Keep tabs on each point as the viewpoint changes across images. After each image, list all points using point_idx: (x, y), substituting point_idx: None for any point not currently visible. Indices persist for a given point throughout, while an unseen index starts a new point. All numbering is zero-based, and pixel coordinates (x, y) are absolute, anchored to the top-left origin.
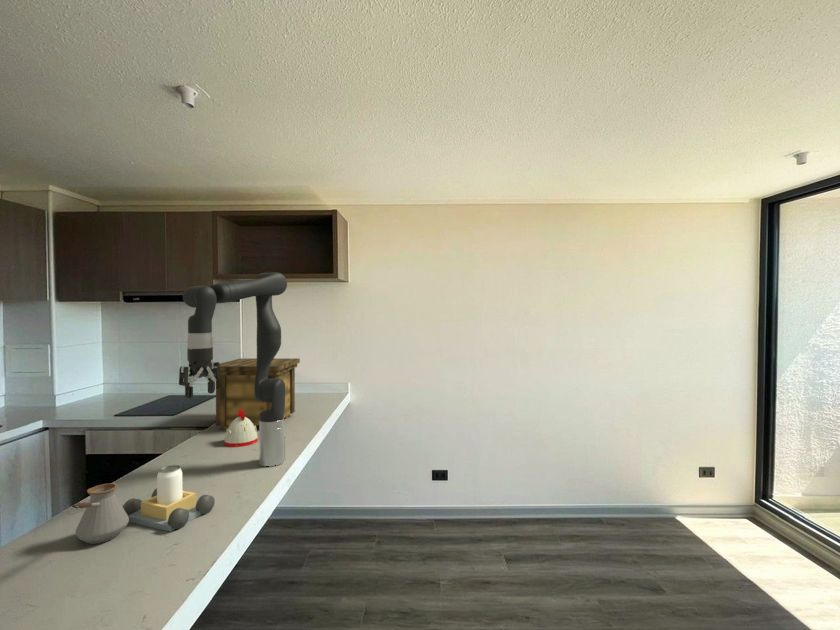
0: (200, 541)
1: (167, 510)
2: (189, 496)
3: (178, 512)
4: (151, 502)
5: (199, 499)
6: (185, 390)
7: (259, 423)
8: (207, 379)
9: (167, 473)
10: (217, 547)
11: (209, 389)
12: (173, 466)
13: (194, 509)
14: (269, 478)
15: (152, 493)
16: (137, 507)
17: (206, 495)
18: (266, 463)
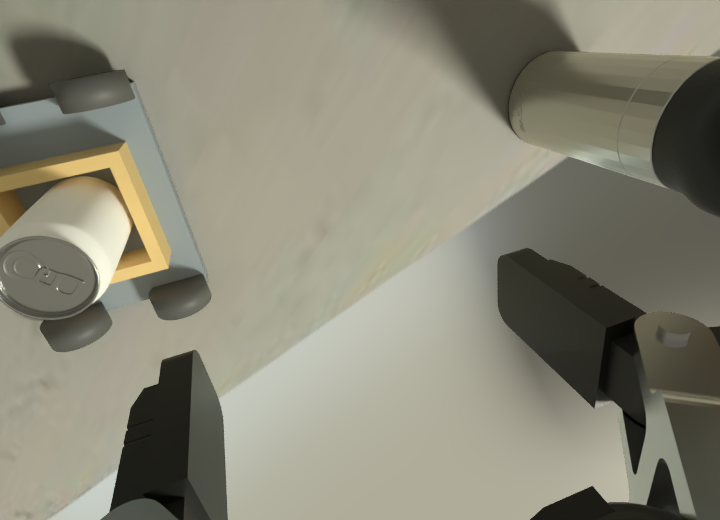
0: (100, 408)
1: None
2: (138, 276)
3: (65, 350)
4: (5, 219)
5: (159, 305)
6: (123, 471)
7: (656, 97)
8: (639, 367)
9: (24, 310)
10: (118, 451)
11: (527, 296)
12: (78, 248)
13: (151, 276)
14: (438, 215)
15: (51, 84)
16: None
17: (184, 307)
18: (516, 122)
